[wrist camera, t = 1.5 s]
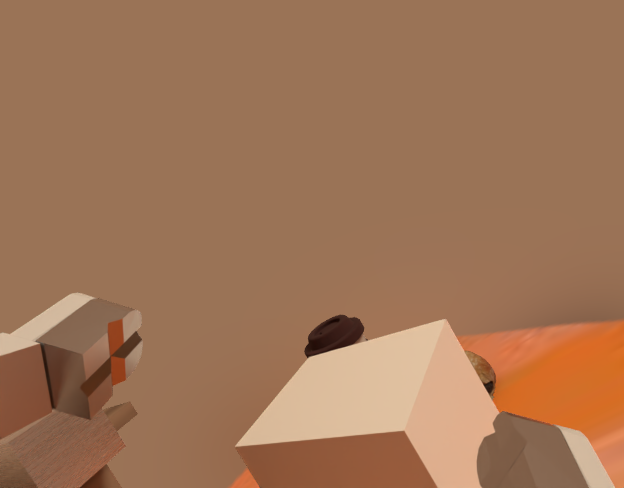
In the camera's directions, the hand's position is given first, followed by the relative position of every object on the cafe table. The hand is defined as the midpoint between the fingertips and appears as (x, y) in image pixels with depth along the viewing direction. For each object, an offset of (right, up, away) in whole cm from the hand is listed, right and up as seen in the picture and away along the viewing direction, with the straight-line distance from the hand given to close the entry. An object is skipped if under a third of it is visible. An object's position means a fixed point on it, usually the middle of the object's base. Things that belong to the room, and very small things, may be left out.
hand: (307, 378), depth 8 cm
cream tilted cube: (+11, -24, +27) cm, 37 cm away
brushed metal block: (-18, -11, +14) cm, 25 cm away
